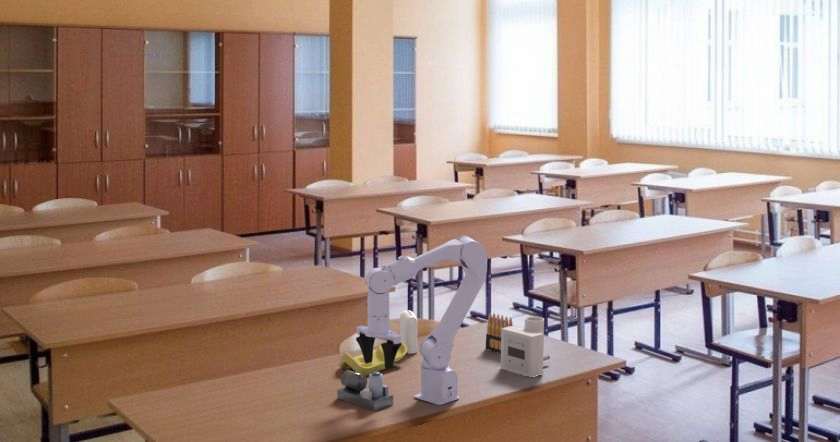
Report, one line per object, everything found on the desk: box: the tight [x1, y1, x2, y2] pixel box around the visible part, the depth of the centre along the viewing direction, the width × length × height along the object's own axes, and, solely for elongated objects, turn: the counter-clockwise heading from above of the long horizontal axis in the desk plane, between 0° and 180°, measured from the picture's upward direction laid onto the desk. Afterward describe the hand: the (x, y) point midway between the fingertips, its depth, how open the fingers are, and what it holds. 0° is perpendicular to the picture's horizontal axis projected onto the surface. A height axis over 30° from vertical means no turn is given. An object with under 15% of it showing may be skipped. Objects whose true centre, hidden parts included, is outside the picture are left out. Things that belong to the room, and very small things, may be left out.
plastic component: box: [338, 341, 407, 377], centre depth 292 cm, size 20×7×10 cm
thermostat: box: [500, 316, 551, 378], centre depth 290 cm, size 12×14×15 cm
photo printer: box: [399, 309, 419, 355], centre depth 310 cm, size 10×4×12 cm, turn 13°
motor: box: [336, 369, 394, 411], centre depth 260 cm, size 15×7×7 cm, turn 46°
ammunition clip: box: [485, 312, 513, 354], centre depth 308 cm, size 11×2×12 cm, turn 42°
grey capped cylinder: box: [368, 371, 384, 398], centre depth 257 cm, size 4×4×6 cm
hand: (378, 365), depth 259 cm, fingers open, 7 cm apart
